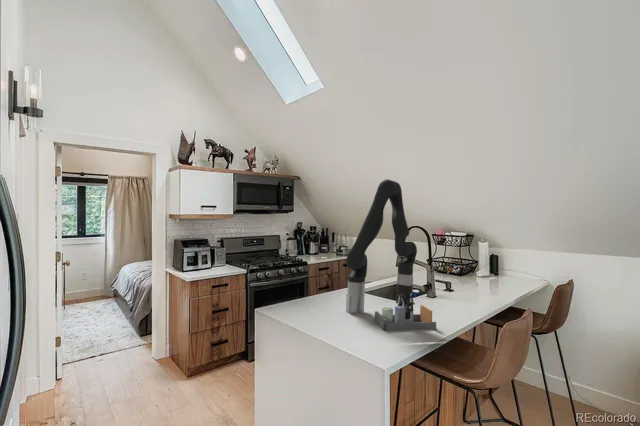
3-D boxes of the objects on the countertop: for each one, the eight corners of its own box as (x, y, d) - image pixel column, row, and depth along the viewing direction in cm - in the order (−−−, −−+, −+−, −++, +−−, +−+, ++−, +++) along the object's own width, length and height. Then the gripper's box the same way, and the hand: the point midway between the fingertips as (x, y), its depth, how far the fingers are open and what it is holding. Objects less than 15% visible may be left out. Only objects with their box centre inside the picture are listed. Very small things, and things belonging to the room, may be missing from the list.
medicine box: (409, 323, 161) (410, 305, 161) (413, 326, 156) (413, 308, 156) (394, 323, 160) (394, 305, 160) (397, 326, 155) (397, 308, 155)
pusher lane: (383, 332, 150) (384, 320, 150) (374, 323, 162) (375, 311, 162) (436, 330, 154) (436, 318, 154) (423, 321, 167) (423, 310, 167)
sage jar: (384, 327, 154) (384, 310, 154) (380, 323, 159) (380, 307, 159) (394, 327, 155) (394, 310, 155) (390, 323, 160) (390, 307, 160)
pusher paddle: (429, 327, 155) (430, 310, 155) (419, 320, 165) (420, 304, 165) (431, 327, 156) (432, 310, 155) (422, 320, 165) (422, 304, 165)
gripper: (391, 279, 164) (390, 311, 164) (403, 286, 150) (402, 321, 150) (405, 279, 166) (404, 311, 166) (419, 286, 151) (417, 321, 152)
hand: (403, 316), depth 158 cm, fingers open, 8 cm apart
